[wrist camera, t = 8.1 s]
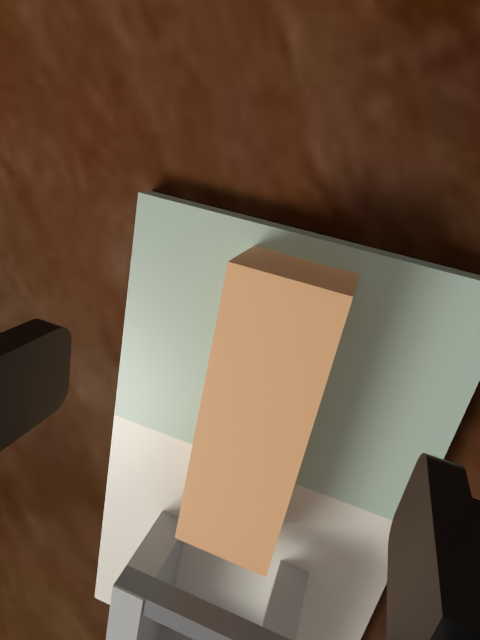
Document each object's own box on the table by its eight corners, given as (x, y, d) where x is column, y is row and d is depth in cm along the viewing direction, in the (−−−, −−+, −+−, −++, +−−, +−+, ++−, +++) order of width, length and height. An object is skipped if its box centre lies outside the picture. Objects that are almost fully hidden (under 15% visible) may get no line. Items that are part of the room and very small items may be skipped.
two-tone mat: (513, 283, 16) (568, 339, 11) (330, 689, 25) (315, 822, 20) (150, 190, 19) (63, 201, 14) (104, 583, 28) (41, 675, 23)
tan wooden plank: (360, 274, 16) (353, 297, 14) (282, 522, 21) (266, 577, 18) (253, 245, 17) (227, 261, 14) (201, 490, 22) (174, 537, 19)
